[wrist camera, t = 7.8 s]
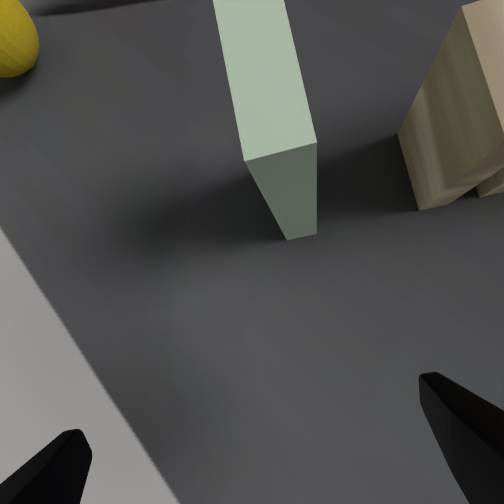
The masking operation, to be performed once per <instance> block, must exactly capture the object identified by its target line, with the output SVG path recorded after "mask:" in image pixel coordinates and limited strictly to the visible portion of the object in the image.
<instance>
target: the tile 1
mask: <svg viewBox="0 0 504 504" xmlns="http://www.w3.org/2000/svg"><path fill="white" fill-rule="evenodd" d="M397 134H398V138H399V142H400V145H401V149H402V152H403V156H404V159H405V163H406V167H407V170H408V174H409V177H410V181H411V184H412V188H413V192H414V195H415V199H416V202H417V206H418V209H419V211H421V210H426V209H430V208H435V207H439V206H444V205H448V204H450V203H452V202H453V201H454V200H456V199H457V198H459V197H460V196H462V195H463V194H465V193H466V192H468V191H469V190H471V189H472V188H473V187H475V186H476V185H478V184H479V183H481V182H482V181H484V180H485V179H487V178H488V177H489V176H491V175H492V174H494V173H495V172H497V171H498V170H500V169H501V168H503V167H504V0H480V1H477V2H474V3H471V4H467V5H464V6H461V8H460V10H459V12H458V14H457V16H456V18H455V20H454V22H453V24H452V26H451V28H450V30H449V32H448V34H447V36H446V38H445V40H444V42H443V44H442V46H441V48H440V50H439V52H438V54H437V56H436V58H435V60H434V62H433V64H432V66H431V68H430V70H429V72H428V74H427V76H426V78H425V80H424V82H423V84H422V86H421V88H420V90H419V92H418V93H417V95H416V97H415V99H414V101H413V103H412V105H411V107H410V109H409V111H408V113H407V115H406V117H405V119H404V121H403V123H402V125H401V127H400V129H399V131H398V133H397Z"/></svg>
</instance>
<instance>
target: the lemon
mask: <svg viewBox="0 0 504 504" xmlns="http://www.w3.org/2000/svg"><path fill="white" fill-rule="evenodd" d="M38 53H39V39H38V34H37V30H36V28H35V25H34V23H33V21H32V20H31V18H30V16H29V14H28V13H27V11H26V10H25V8H24V7H23V6H22V4H20V2H19V1H18V0H0V77H14V76H18V75H21V74H23V73H25V72H26V71H28V70H29V69H30V68H33V67H34V65H35V61H36V59H37V57H38Z"/></svg>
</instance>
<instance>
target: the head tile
mask: <svg viewBox="0 0 504 504" xmlns="http://www.w3.org/2000/svg"><path fill="white" fill-rule="evenodd" d="M213 2H214V8H215V13H216V18H217V23H218V28H219V33H220V38H221V44H222V49H223V54H224V59H225V64H226V69H227V75H228V80H229V85H230V90H231V95H232V100H233V105H234V111H235V116H236V121H237V126H238V131H239V136H240V141H241V147H242V152H243V157H244V162H245V163H246V165H247V167H248V169H249V171H250V173H251V175H252V176H253V178H254V180H255V182H256V184H257V186H258V188H259V189H260V191H261V193H262V195H263V197H264V199H265V201H266V202H267V204H268V206H269V208H270V210H271V212H272V214H273V215H274V217H275V219H276V221H277V223H278V225H279V227H280V228H281V230H282V232H283V234H284V236H285V238H286V240H291V239H296V238H300V237H305V236H310V235H314V234H317V141H316V137H315V132H314V128H313V124H312V120H311V115H310V111H309V107H308V102H307V98H306V94H305V90H304V85H303V81H302V77H301V72H300V68H299V64H298V60H297V55H296V51H295V47H294V42H293V38H292V34H291V30H290V25H289V21H288V17H287V12H286V8H285V4H284V0H213Z"/></svg>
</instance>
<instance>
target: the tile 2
mask: <svg viewBox="0 0 504 504" xmlns="http://www.w3.org/2000/svg"><path fill="white" fill-rule="evenodd" d="M476 189H477V192H478V195H479V198H480V197H485V196H489V195H494V194H498V193H503V192H504V167H503V168H501V169H500V170H498V171H497V172H495V173H494V174H492V175H491V176H489V177H488V178H487V179H485V180H484V181H482V182H481V183H479V184H478V185H476Z"/></svg>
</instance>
